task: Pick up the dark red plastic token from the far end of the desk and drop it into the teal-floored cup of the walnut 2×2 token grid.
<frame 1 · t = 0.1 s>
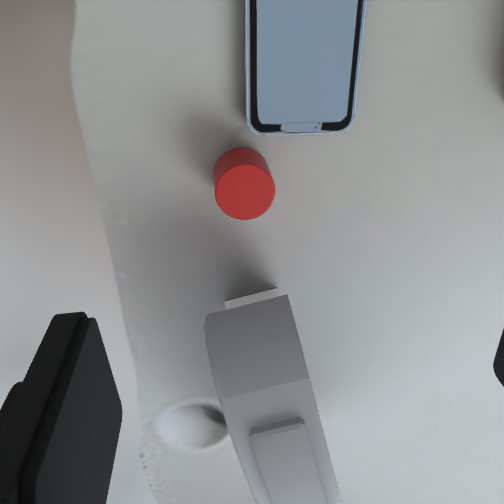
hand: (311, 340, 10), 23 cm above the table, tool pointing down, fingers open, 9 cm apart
alarm clock: (270, 361, 42), on the table
token: (241, 174, 32), on the table
smartphone: (303, 7, 27), on the table
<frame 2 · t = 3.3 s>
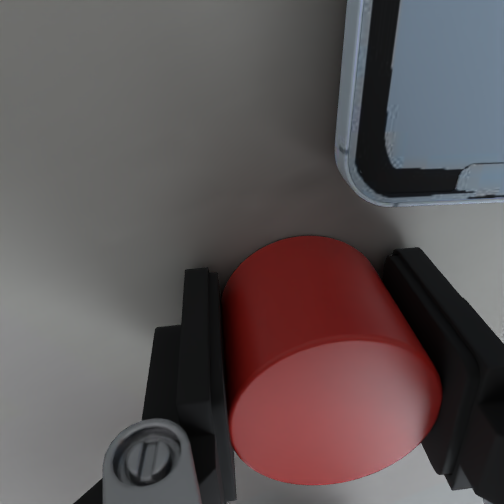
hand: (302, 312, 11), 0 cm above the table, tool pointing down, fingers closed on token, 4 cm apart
token: (300, 304, 11), on the table, touching gripper
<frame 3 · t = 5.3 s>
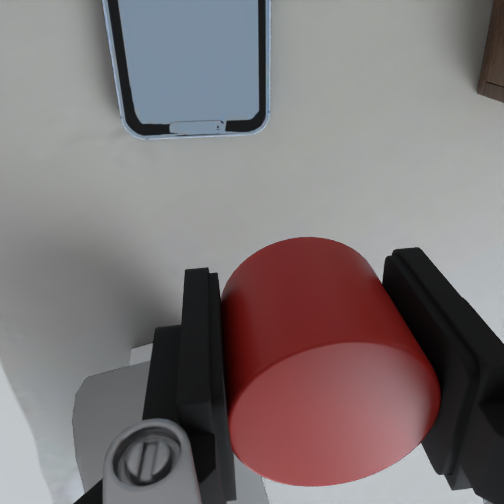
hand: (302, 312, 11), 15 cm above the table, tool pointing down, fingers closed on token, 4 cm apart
alarm clock: (200, 416, 34), on the table
token: (299, 305, 11), point 15 cm above the table, touching gripper
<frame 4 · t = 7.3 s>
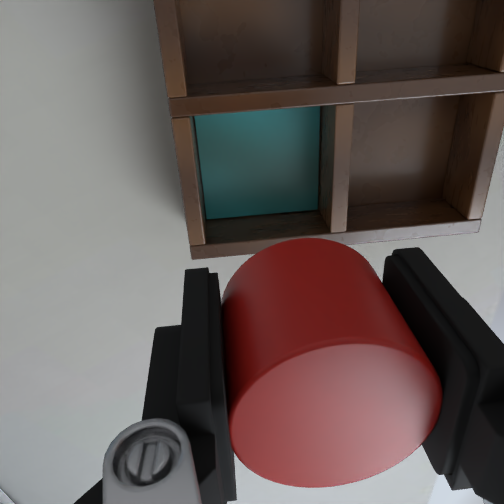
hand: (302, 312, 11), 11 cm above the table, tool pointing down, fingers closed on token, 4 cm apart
grid: (325, 79, 19), on the table
token: (300, 306, 11), point 11 cm above the table, touching gripper
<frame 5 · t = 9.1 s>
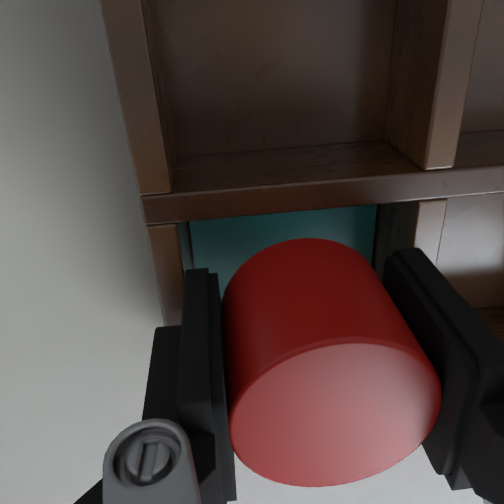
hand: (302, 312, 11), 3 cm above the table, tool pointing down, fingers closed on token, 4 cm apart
grid: (386, 145, 12), on the table
token: (300, 306, 11), point 3 cm above the table, touching gripper
when the fingers open (4 cm above the table, at t = 11.8 s): token drops 3 cm, resting on grid.
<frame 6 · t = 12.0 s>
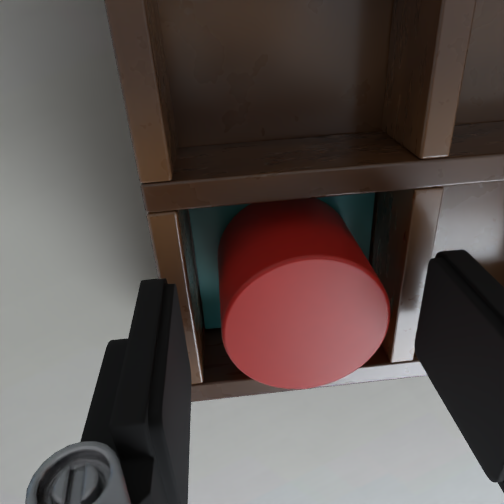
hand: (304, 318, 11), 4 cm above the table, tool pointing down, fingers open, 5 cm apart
grid: (383, 136, 13), on the table
token: (284, 253, 13), point 1 cm above the table, touching grid
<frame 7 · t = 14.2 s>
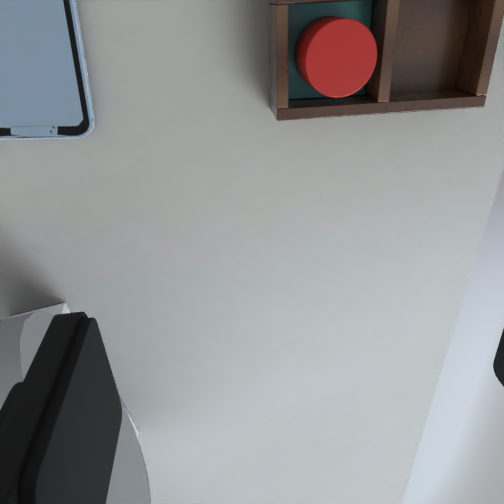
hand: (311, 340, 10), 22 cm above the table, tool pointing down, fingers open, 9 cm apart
alarm clock: (81, 379, 40), on the table
token: (326, 52, 27), point 1 cm above the table, touching grid
smartphone: (11, 0, 25), on the table
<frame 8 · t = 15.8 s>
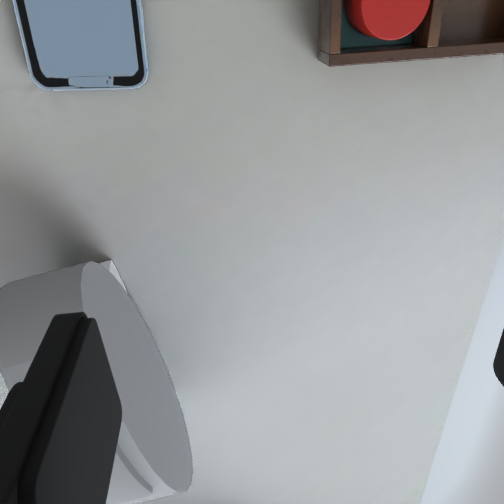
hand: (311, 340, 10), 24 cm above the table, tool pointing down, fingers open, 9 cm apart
alarm clock: (123, 339, 40), on the table
token: (375, 0, 28), point 1 cm above the table, touching grid
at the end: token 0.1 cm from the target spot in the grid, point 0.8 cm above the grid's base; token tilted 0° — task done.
